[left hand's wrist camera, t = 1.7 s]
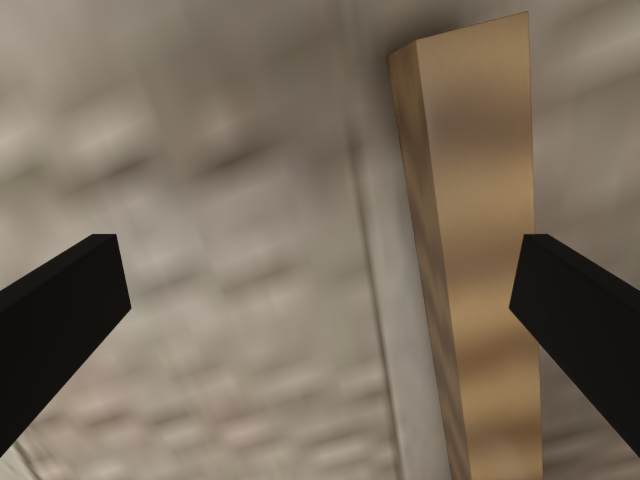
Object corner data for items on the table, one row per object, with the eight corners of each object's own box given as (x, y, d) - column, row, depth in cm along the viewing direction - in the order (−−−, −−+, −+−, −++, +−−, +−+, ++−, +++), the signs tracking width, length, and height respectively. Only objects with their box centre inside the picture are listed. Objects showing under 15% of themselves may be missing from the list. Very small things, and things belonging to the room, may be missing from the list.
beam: (386, 56, 27) (415, 39, 19) (464, 36, 26) (528, 10, 18) (461, 539, 46) (491, 635, 38) (507, 532, 45) (547, 628, 37)
